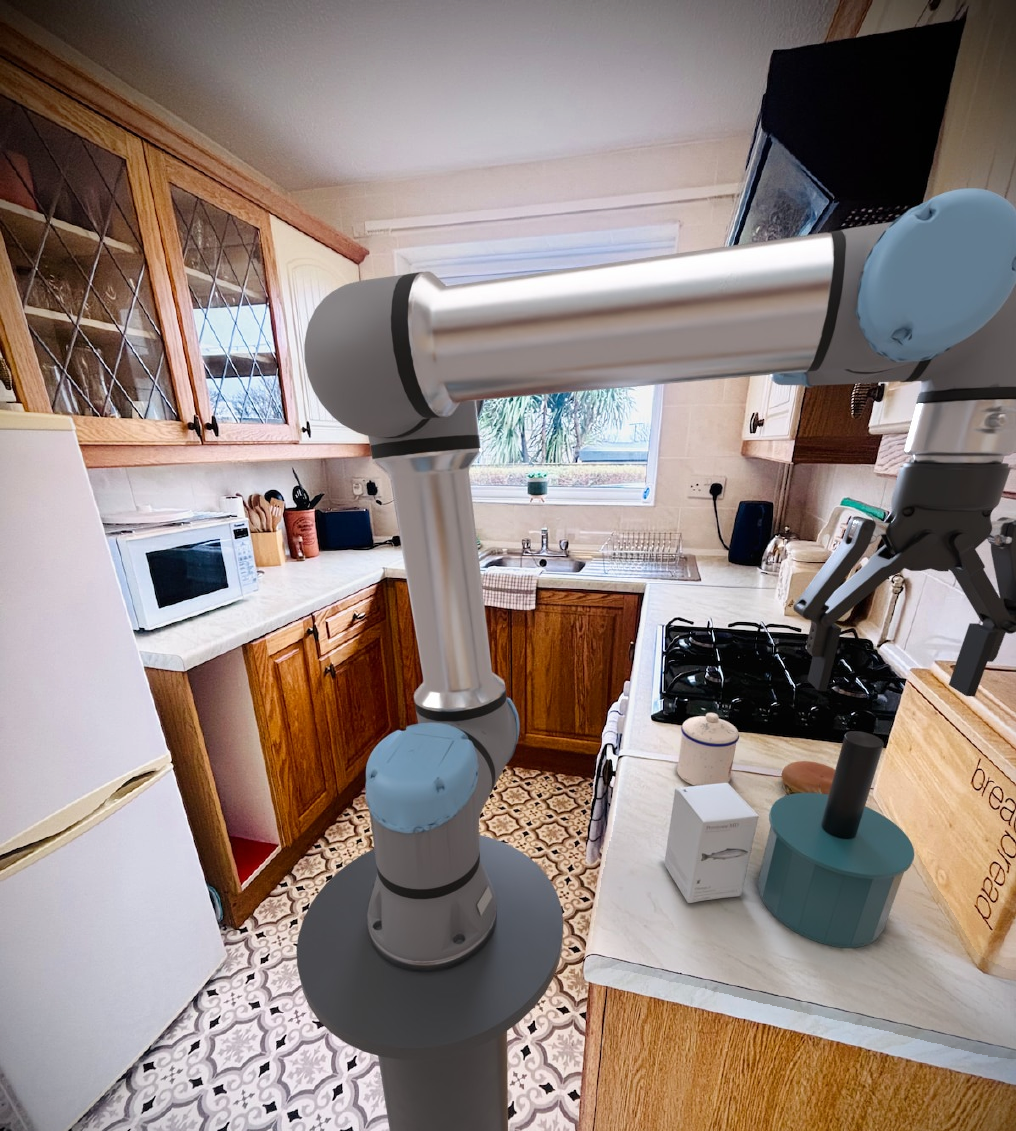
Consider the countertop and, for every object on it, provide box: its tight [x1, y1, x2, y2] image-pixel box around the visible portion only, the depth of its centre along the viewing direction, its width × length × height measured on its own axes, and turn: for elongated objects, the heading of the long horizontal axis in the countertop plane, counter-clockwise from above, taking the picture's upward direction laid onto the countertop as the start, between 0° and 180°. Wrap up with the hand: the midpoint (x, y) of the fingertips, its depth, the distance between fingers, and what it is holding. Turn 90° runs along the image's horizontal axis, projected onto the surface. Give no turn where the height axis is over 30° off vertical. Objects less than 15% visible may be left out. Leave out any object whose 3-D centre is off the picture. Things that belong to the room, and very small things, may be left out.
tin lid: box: [768, 730, 915, 879], centre depth 61 cm, size 15×15×13 cm
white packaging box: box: [663, 782, 759, 904], centre depth 68 cm, size 7×7×13 cm
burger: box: [781, 760, 836, 795], centre depth 87 cm, size 10×9×5 cm
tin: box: [757, 825, 905, 949], centre depth 65 cm, size 14×14×10 cm
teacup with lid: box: [676, 712, 740, 786], centre depth 93 cm, size 12×9×12 cm
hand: (887, 688), depth 54 cm, fingers open, 13 cm apart
